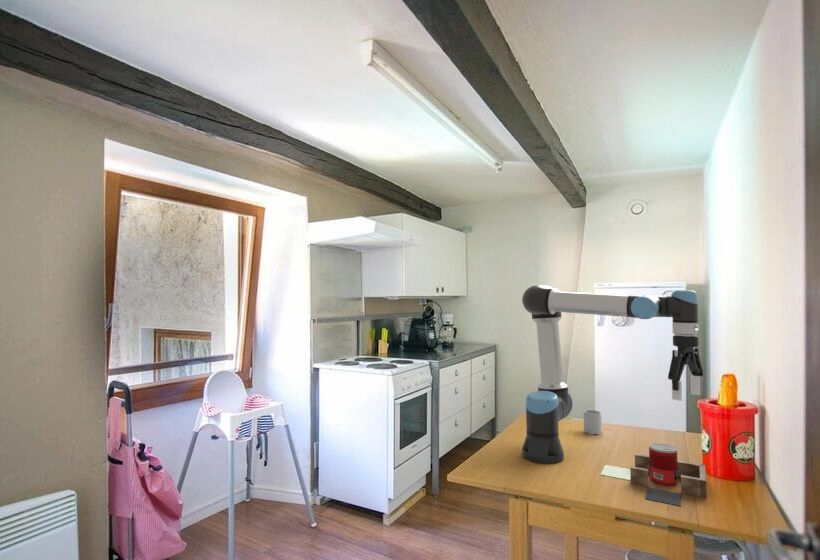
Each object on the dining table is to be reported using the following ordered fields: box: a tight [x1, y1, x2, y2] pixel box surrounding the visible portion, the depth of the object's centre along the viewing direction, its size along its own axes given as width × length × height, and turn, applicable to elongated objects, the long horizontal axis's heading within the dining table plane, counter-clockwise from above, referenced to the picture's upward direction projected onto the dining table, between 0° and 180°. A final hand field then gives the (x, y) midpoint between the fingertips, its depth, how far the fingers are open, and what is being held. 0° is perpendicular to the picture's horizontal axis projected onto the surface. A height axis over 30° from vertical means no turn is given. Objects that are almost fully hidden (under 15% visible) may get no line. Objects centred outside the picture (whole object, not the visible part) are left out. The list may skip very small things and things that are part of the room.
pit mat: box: [644, 486, 682, 507], centre depth 137 cm, size 9×9×1 cm
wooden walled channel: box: [629, 453, 707, 499], centre depth 147 cm, size 20×15×5 cm
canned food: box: [648, 443, 679, 487], centre depth 148 cm, size 8×8×11 cm
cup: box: [583, 409, 602, 435], centre depth 201 cm, size 7×10×9 cm
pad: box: [600, 464, 631, 481], centre depth 155 cm, size 9×10×1 cm
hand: (686, 397), depth 155 cm, fingers open, 13 cm apart
